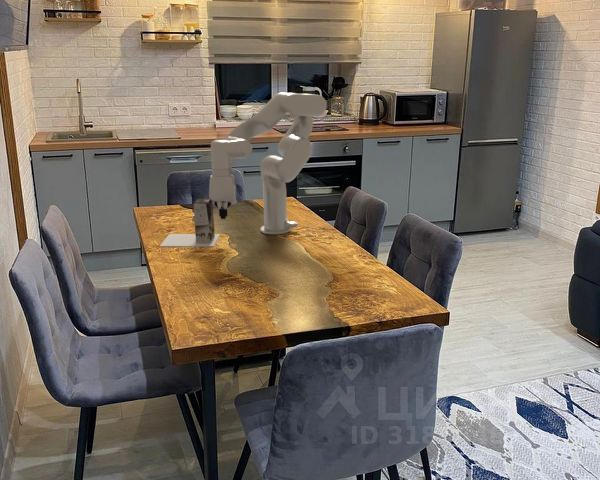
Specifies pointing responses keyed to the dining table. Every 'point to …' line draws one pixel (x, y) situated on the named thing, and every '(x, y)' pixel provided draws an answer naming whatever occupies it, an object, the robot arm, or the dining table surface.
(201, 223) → the coffee box
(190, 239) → the mat
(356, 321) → the dining table surface
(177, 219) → the dining table surface
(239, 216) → the dining table surface
